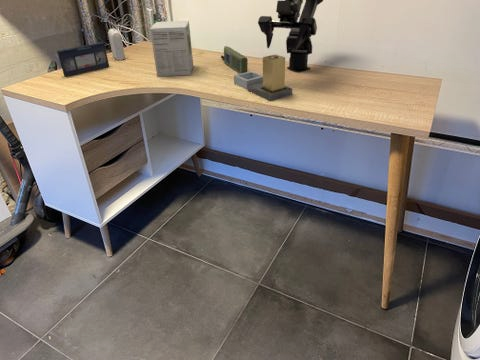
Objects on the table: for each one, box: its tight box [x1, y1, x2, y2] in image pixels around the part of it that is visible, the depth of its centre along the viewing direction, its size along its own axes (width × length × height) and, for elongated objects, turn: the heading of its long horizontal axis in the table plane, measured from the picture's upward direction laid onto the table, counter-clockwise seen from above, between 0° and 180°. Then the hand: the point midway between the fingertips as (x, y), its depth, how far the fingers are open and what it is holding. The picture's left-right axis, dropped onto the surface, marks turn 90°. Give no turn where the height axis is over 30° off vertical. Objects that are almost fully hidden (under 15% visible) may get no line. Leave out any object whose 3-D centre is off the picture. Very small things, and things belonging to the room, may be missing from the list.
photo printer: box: [107, 28, 126, 61], centre depth 167 cm, size 10×4×12 cm, turn 28°
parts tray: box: [233, 70, 263, 90], centre depth 132 cm, size 8×8×3 cm
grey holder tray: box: [247, 82, 293, 102], centre depth 124 cm, size 12×9×2 cm
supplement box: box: [149, 20, 194, 77], centre depth 145 cm, size 13×13×18 cm
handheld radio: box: [220, 45, 249, 74], centre depth 150 cm, size 7×3×25 cm
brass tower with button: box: [262, 53, 286, 93], centre depth 120 cm, size 5×5×12 cm
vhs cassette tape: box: [56, 41, 110, 78], centre depth 151 cm, size 18×3×10 cm, turn 129°
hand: (281, 48), depth 122 cm, fingers open, 9 cm apart
